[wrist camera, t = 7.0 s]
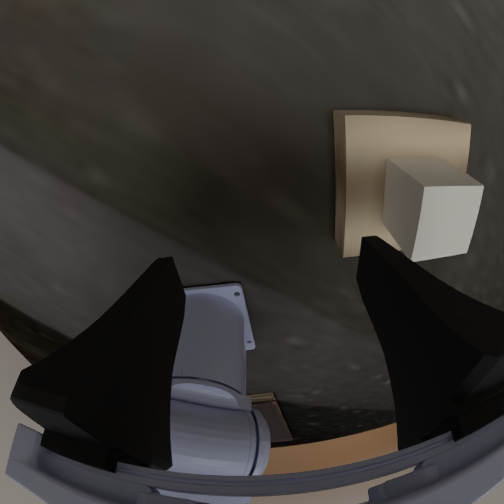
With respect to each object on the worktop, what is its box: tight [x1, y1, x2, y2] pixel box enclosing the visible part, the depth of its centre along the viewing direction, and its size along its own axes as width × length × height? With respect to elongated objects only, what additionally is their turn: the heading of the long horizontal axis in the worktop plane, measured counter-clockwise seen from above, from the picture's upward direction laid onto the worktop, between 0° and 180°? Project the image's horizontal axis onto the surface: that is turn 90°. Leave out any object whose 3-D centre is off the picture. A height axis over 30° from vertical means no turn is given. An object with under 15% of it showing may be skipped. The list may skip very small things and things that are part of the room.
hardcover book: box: [246, 392, 293, 443], centre depth 43 cm, size 16×23×2 cm
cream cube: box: [382, 158, 484, 262], centre depth 14 cm, size 5×5×5 cm
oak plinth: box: [333, 110, 471, 258], centre depth 17 cm, size 10×10×3 cm
